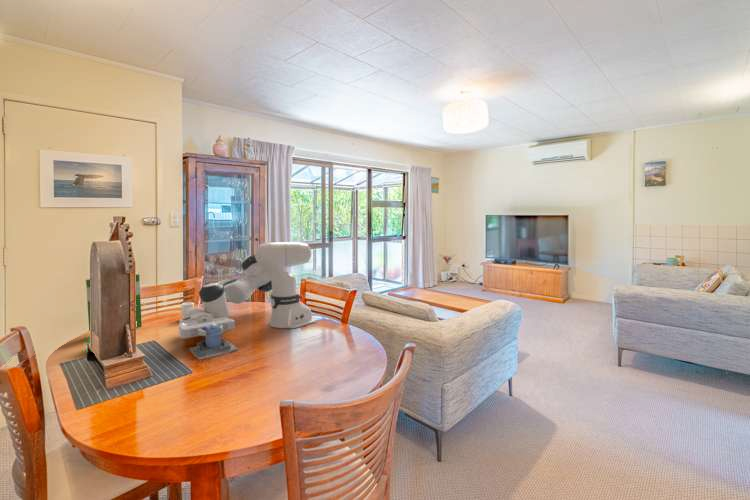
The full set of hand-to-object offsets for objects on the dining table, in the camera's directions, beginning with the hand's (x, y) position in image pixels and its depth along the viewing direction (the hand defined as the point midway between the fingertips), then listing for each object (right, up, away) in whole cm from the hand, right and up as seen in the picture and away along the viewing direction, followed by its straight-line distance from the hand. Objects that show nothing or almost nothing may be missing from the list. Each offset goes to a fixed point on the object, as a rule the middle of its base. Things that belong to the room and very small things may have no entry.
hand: (213, 332), depth 140 cm
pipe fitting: (-30, -3, +41) cm, 51 cm away
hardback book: (-52, -4, +22) cm, 56 cm away
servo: (-1, -6, +1) cm, 6 cm away
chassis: (-1, -7, +1) cm, 7 cm away
